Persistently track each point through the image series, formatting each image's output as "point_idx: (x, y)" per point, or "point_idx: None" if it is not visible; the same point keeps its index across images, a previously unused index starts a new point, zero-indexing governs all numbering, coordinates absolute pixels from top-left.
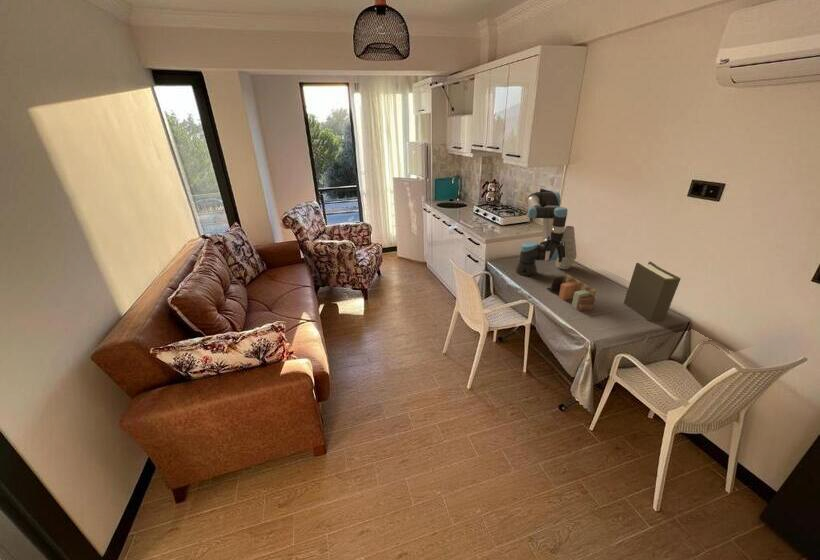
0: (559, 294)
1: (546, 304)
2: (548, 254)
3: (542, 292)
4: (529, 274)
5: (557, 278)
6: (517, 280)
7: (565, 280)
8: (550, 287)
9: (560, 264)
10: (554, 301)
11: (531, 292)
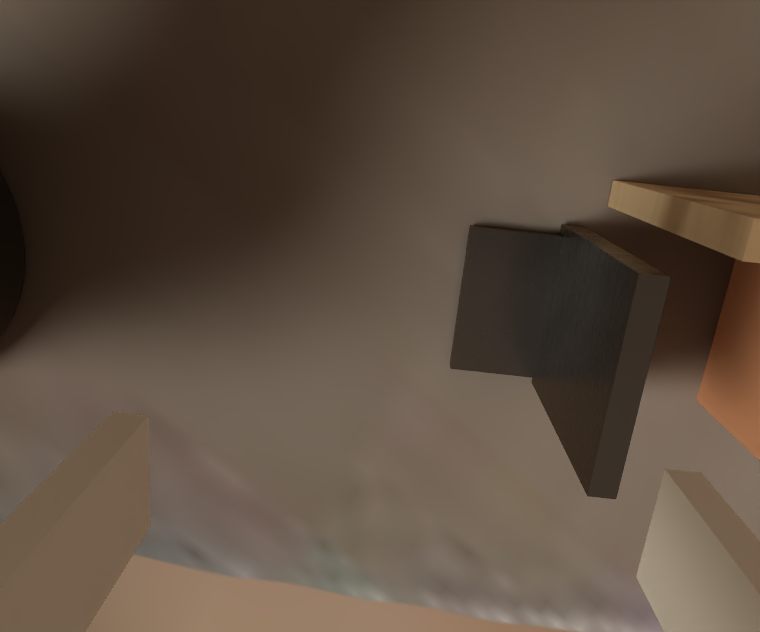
0: (723, 422)
1: None
2: (41, 602)
3: (493, 471)
4: (5, 300)
5: (633, 413)
6: None
7: (682, 235)
8: (465, 320)
9: (727, 510)
10: None
11: (427, 571)
